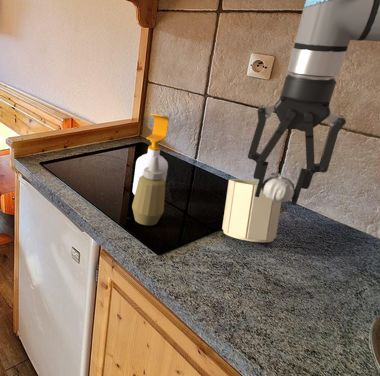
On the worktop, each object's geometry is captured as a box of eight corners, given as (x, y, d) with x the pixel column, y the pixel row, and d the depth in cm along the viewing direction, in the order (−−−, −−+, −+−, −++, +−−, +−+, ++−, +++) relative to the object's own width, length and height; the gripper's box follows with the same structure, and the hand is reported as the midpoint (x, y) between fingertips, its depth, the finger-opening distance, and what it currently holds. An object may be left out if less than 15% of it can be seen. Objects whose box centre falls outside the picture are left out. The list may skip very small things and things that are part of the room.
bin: (281, 244, 92) (291, 188, 90) (231, 239, 93) (239, 184, 91) (262, 232, 103) (270, 181, 101) (217, 227, 104) (224, 177, 102)
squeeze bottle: (137, 210, 112) (146, 148, 104) (166, 219, 107) (177, 155, 100) (125, 221, 106) (133, 157, 98) (154, 231, 101) (165, 165, 94)
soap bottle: (127, 195, 120) (137, 114, 110) (139, 185, 127) (150, 107, 116) (156, 203, 116) (169, 119, 105) (167, 192, 122) (180, 112, 112)
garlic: (251, 194, 80) (258, 170, 78) (271, 190, 82) (278, 167, 80) (277, 208, 75) (285, 182, 73) (298, 203, 77) (306, 178, 75)
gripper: (375, 78, 67) (331, 202, 77) (253, 67, 76) (227, 180, 85) (382, 85, 61) (332, 219, 71) (249, 73, 70) (221, 193, 80)
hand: (275, 198), depth 78 cm, fingers closed on garlic, 6 cm apart
